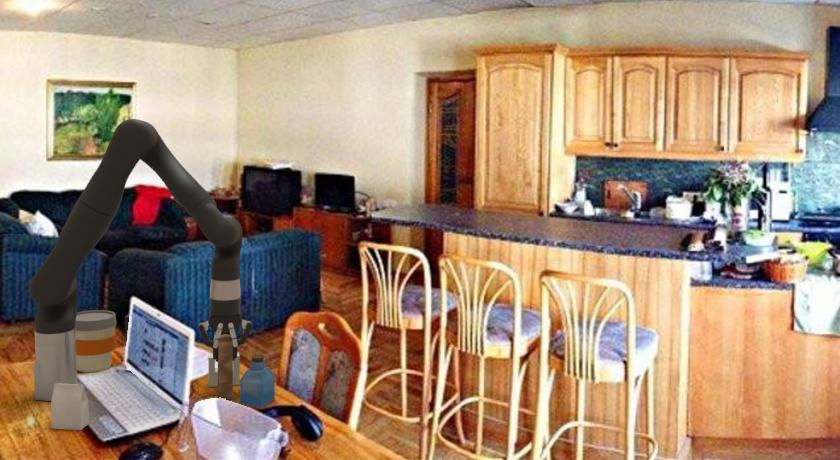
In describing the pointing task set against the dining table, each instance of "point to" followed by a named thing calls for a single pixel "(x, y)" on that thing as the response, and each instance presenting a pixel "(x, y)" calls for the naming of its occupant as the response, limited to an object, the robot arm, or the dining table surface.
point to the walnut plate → (225, 367)
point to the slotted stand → (214, 371)
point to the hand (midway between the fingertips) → (225, 360)
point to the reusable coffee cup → (94, 339)
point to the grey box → (69, 407)
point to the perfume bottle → (257, 383)
